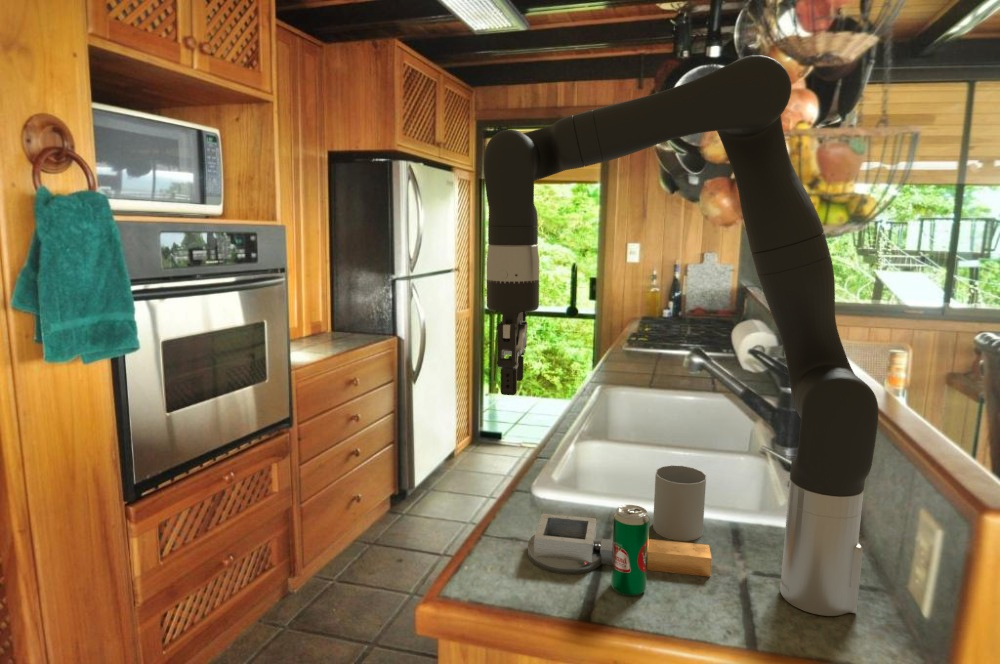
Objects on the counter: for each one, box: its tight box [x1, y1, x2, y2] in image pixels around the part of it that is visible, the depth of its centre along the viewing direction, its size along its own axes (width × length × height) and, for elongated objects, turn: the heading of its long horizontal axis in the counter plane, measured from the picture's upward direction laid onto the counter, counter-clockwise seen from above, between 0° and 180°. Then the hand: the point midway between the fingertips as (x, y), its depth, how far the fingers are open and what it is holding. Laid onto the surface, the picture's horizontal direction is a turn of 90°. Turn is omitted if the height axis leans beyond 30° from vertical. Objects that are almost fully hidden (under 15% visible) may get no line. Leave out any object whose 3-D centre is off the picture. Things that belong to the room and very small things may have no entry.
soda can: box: [610, 504, 651, 597], centre depth 98 cm, size 5×5×12 cm
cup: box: [652, 464, 707, 542], centre depth 117 cm, size 8×8×10 cm
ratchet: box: [527, 513, 713, 577], centre depth 107 cm, size 28×12×4 cm, turn 78°
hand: (512, 387), depth 100 cm, fingers open, 8 cm apart
